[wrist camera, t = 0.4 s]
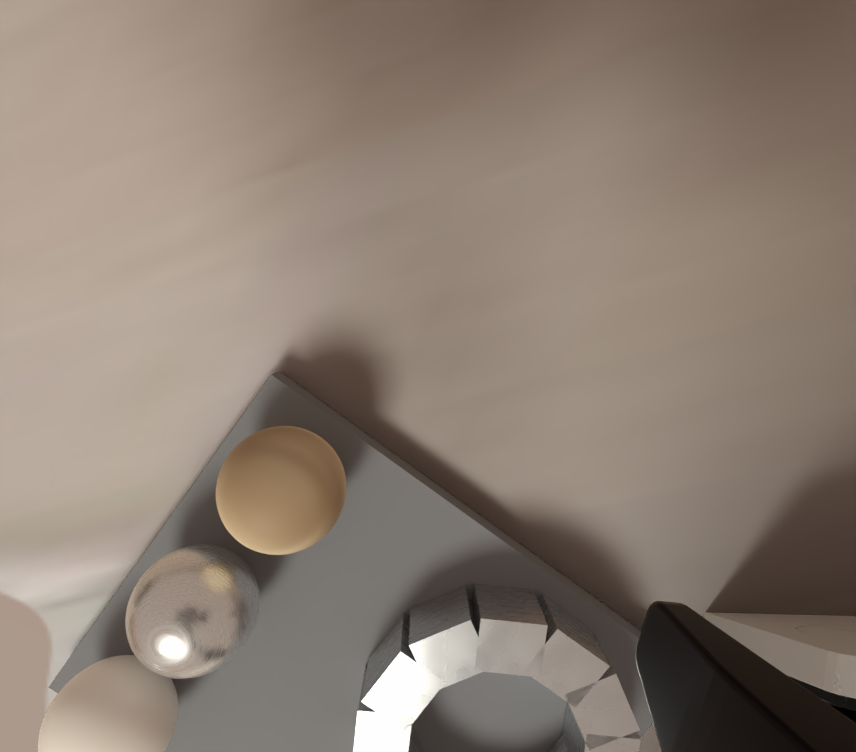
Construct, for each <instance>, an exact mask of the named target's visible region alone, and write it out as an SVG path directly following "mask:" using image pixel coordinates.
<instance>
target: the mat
mask: <svg viewBox="0 0 856 752" xmlns="http://www.w3.org/2000/svg"><path fill="white" fill-rule="evenodd" d="M276 426H293V427H299V428H303V429H306V430H309V431H311V432H313V433H315V434H317V435H318V436H320V437H321V438H323V439H324V440H325V441H326V442H328V444H329V445H330V446H331V447H332V448H333V449H334V450H335V452H336V453H337V455H338V457H339V458H340V460H341V462H342V465H343V468H344V472H345V476H346V485H347V486H346V497H345V502H344V506H343V509H342V512H341V514H340V516H339V518H338V520H337V521H336V523H335V524H334V526H333V527H332V529H331V530H330V531H329V532H328V533H327V534H326V535H325V536H324V537H323V538H322V539H321V540H319V541H318V542H317V543H315V544H314V545H312V546H310V547H308V548H306V549H304V550H301V551H298V552H295V553H291V554H285V555H270V554H264V553H260V552H257V551H254V550H252V549H249V548H247V547H246V546H244V545H242V544H241V543H240V542H238V541H237V540H236V539H235V538H234V537H233V536H232V535H231V534H230V533H229V532H228V530H227V529H226V528H225V526H224V524H223V522H222V520H221V518H220V515H219V512H218V509H217V504H216V485H217V479H218V475H219V472H220V470H221V467H222V465H223V463H224V461H225V460H226V458H227V456H228V455H229V454H230V452H231V451H232V450H233V449H234V448H235V447H236V446H237V445H238V444H239V443H240V442H241V441H242V440H244V439H245V438H247V437H248V436H250V435H252V434H254V433H256V432H258V431H261V430H263V429H266V428H271V427H276ZM199 544H207V545H215V546H220V547H223V548H226V549H228V550H230V551H232V552H234V553H235V554H237V555H238V556H240V557H241V558H242V559H243V560H244V561H245V562H246V563H247V564H248V566H249V567H250V569H251V570H252V572H253V574H254V576H255V579H256V581H257V584H258V588H259V596H260V607H259V613H258V618H257V621H256V625H255V627H254V629H253V631H252V634H251V636H250V637H249V639H248V641H247V642H246V644H245V645H244V647H243V648H242V649H241V650H240V651H239V652H238V654H237V655H236V656H234V657H233V658H232V659H231V660H230V661H229V662H228V663H226V664H225V665H223V666H222V667H220V668H219V669H217V670H215V671H213V672H211V673H208V674H205V675H203V676H200V677H195V678H187V679H174V678H171V679H172V681H173V683H174V686H175V689H176V692H177V697H178V716H177V722H176V726H175V730H174V733H173V736H172V738H171V740H170V742H169V744H168V746H167V748H166V750H165V751H164V752H353V749H354V740H355V731H356V721H357V712H358V706H359V700H360V694H361V688H362V683H363V677H364V671H365V666H367V665H368V659H369V657H370V655H371V654H372V653H373V651H374V650H375V649H376V648H377V646H378V645H379V644H380V642H381V641H382V640H383V639H384V637H385V636H386V635H387V633H388V632H389V631H390V629H391V628H392V627H393V626H394V624H395V623H396V622H397V620H398V619H399V618H400V617H401V615H402V614H403V613H404V614H406V615H407V616H409V617H410V610H411V607H413V606H415V605H418V604H420V603H422V602H425V601H427V600H430V599H432V598H434V597H437V596H439V595H442V594H444V593H446V592H449V591H451V590H454V589H456V588H459V587H461V586H463V585H466V587H467V590H468V592H469V594H470V596H471V599H472V598H473V591H474V583H476V584H485V585H494V586H504V587H513V588H523V589H532V590H534V592H535V595H536V597H537V599H538V597H539V596H540V595H541V594H542V593H543V594H544V595H546V596H547V597H549V598H550V599H551V600H553V601H554V602H556V603H557V604H558V605H560V606H561V607H563V608H564V609H565V610H567V611H568V612H570V613H571V614H572V615H574V616H575V617H577V618H578V619H579V620H581V621H582V622H584V623H585V624H586V625H588V626H589V628H590V630H591V631H592V633H594V634H595V635H596V637H597V639H598V641H599V643H600V645H601V647H602V648H603V650H604V652H605V654H606V656H607V658H608V660H609V661H610V663H611V665H612V667H613V669H614V671H615V673H616V675H617V677H618V679H619V682H620V684H621V686H622V689H623V691H624V693H625V696H626V698H627V701H628V703H629V705H630V708H631V710H632V712H633V715H634V717H635V719H636V722H637V724H638V726H639V729H640V730H639V731H637V732H638V734H639V736H640V738H641V736H642V735H643V734H644V733H645V732H646V731H647V729H648V728H649V727H650V726H651V725H652V723H653V720H652V717H651V713H650V710H649V707H648V703H647V700H646V696H645V693H644V689H643V686H642V682H641V679H640V675H639V672H638V668H637V664H636V647H637V643H638V640H639V637H640V634H641V631H640V630H639V629H637V628H636V627H635V626H633V625H632V624H630V623H629V622H628V621H626V620H625V619H623V618H622V617H621V616H619V615H618V614H616V613H615V612H614V611H612V610H611V609H610V608H608V607H607V606H605V605H604V604H603V603H601V602H600V601H598V600H597V599H596V598H594V597H593V596H591V595H590V594H589V593H587V592H586V591H584V590H583V589H582V588H580V587H579V586H578V585H576V584H575V583H573V582H572V581H571V580H569V579H568V578H566V577H565V576H564V575H562V574H561V573H559V572H558V571H557V570H555V569H554V568H552V567H551V566H550V565H548V564H547V563H546V562H544V561H543V560H541V559H540V558H539V557H537V556H536V555H534V554H533V553H532V552H530V551H529V550H527V549H526V548H525V547H523V546H522V545H520V544H519V543H518V542H516V541H515V540H514V539H512V538H511V537H509V536H508V535H507V534H505V533H504V532H502V531H501V530H500V529H498V528H497V527H495V526H494V525H493V524H491V523H490V522H488V521H487V520H486V519H484V518H483V517H482V516H480V515H479V514H477V513H476V512H475V511H473V510H472V509H470V508H469V507H468V506H466V505H465V504H463V503H462V502H461V501H459V500H458V499H456V498H455V497H454V496H452V495H451V494H450V493H448V492H447V491H445V490H444V489H443V488H441V487H440V486H438V485H437V484H436V483H434V482H433V481H431V480H430V479H429V478H427V477H426V476H424V475H423V474H422V473H420V472H419V471H418V470H416V469H415V468H413V467H412V466H411V465H409V464H408V463H406V462H405V461H404V460H402V459H401V458H399V457H398V456H397V455H395V454H394V453H392V452H391V451H390V450H388V449H387V448H386V447H384V446H383V445H381V444H380V443H379V442H377V441H376V440H374V439H373V438H372V437H370V436H369V435H367V434H366V433H365V432H363V431H362V430H360V429H359V428H358V427H356V426H355V425H354V424H352V423H351V422H349V421H348V420H347V419H345V418H344V417H342V416H341V415H340V414H338V413H337V412H335V411H334V410H333V409H331V408H330V407H328V406H327V405H326V404H324V403H323V402H322V401H320V400H319V399H317V398H316V397H315V396H313V395H312V394H310V393H309V392H308V391H306V390H305V389H303V388H302V387H301V386H299V385H298V384H296V383H295V382H294V381H292V380H291V379H290V378H288V377H287V376H285V375H284V374H283V373H281V372H277V373H275V374H272V375H271V376H270V377H269V379H268V380H267V382H266V383H265V384H264V386H263V387H262V389H261V390H260V391H259V393H258V394H257V396H256V397H255V398H254V400H253V401H252V403H251V404H250V405H249V407H248V408H247V410H246V411H245V412H244V414H243V415H242V417H241V418H240V419H239V421H238V422H237V424H236V425H235V426H234V428H233V429H232V431H231V432H230V433H229V435H228V436H227V438H226V439H225V440H224V442H223V443H222V445H221V446H220V447H219V449H218V450H217V452H216V453H215V454H214V456H213V457H212V459H211V460H210V462H209V463H208V464H207V466H206V467H205V469H204V470H203V471H202V473H201V474H200V476H199V477H198V478H197V480H196V481H195V483H194V484H193V485H192V487H191V488H190V490H189V491H188V492H187V494H186V495H185V497H184V498H183V499H182V501H181V502H180V504H179V505H178V506H177V508H176V509H175V511H174V512H173V513H172V515H171V516H170V518H169V519H168V520H167V522H166V523H165V525H164V526H163V527H162V529H161V530H160V532H159V533H158V534H157V536H156V537H155V539H154V540H153V541H152V543H151V544H150V546H149V547H148V548H147V550H146V551H145V553H144V554H143V555H142V557H141V558H140V560H139V561H138V563H137V564H136V565H135V567H134V568H133V570H132V571H131V572H130V574H129V575H128V577H127V578H126V579H125V581H124V582H123V584H122V585H121V586H120V588H119V589H118V591H117V592H116V593H115V595H114V596H113V598H112V599H111V600H110V602H109V603H108V605H107V606H106V607H105V609H104V610H103V612H102V613H101V614H100V616H99V617H98V619H97V620H96V621H95V623H94V624H93V626H92V627H91V628H90V630H89V631H88V633H87V634H86V635H85V637H84V638H83V640H82V641H81V642H80V644H79V645H78V647H77V648H76V649H75V651H74V652H73V654H72V655H71V657H70V658H69V659H68V661H67V662H66V664H65V665H64V666H63V668H62V669H61V671H60V672H59V673H58V675H57V676H56V678H55V679H54V680H53V682H52V683H51V685H50V686H49V688H51V689H52V690H54V691H55V692H57V693H59V692H60V690H61V689H62V688H63V687H64V686H65V685H66V683H68V682H69V681H70V680H71V679H72V678H73V677H74V676H75V675H77V674H78V673H79V672H81V671H82V670H84V669H85V668H87V667H88V666H90V665H92V664H94V663H96V662H98V661H101V660H103V659H106V658H110V657H114V656H120V655H134V653H133V651H132V650H131V648H130V645H129V643H128V639H127V635H126V629H125V617H126V609H127V605H128V601H129V599H130V596H131V594H132V591H133V589H134V588H135V586H136V584H137V583H138V581H139V579H140V578H141V577H142V575H143V574H144V573H145V572H146V571H147V570H148V569H149V568H150V567H151V566H152V565H153V564H154V563H155V562H156V561H158V560H159V559H161V558H162V557H163V556H165V555H167V554H169V553H171V552H173V551H175V550H177V549H180V548H183V547H187V546H192V545H199ZM565 707H566V701H565V700H564V699H562V698H561V697H559V696H558V695H557V694H555V693H554V692H552V691H551V690H549V689H548V688H547V687H545V686H544V685H542V684H541V683H539V682H538V681H537V680H535V679H534V678H532V677H531V676H521V675H512V674H502V673H492V672H481V673H479V674H476V675H474V676H471V677H469V678H467V679H464V680H462V681H459V682H457V683H454V684H452V685H449V686H447V687H445V688H442V689H440V690H439V691H438V692H437V693H436V695H435V696H434V697H433V698H432V700H431V701H430V702H429V704H428V705H427V706H426V707H425V709H424V710H423V711H422V712H421V714H420V715H419V716H418V717H417V719H416V720H415V721H414V722H413V724H412V725H413V727H414V729H415V731H416V734H417V736H418V738H419V740H420V742H421V744H422V746H423V748H424V750H425V752H546V751H547V749H548V748H549V747H550V746H551V745H552V743H553V742H554V741H555V740H556V739H557V737H558V736H559V735H560V734H561V732H562V726H563V720H564V713H565Z"/></svg>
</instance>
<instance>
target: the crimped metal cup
mask: <svg viewBox="0 0 856 752" xmlns="http://www.w3.org/2000/svg"><path fill="white" fill-rule="evenodd" d="M481 672H492V673H502V674H512V675H521V676H531V677H532V678H534V679H535V680H537V681H538V682H539V683H541V684H542V685H544V686H545V687H547V688H548V689H549V690H551V691H552V692H554V693H555V694H557V695H558V696H559V697H561V698H562V699H564V700H565V701H566V707H565V713H564V720H563V726H562V732H561V734H560V735H559V736H558V737H557V739H556V740H555V741H554V742H553V743H552V745H551V746H550V747H549V748H548V749H547V751H546V752H639V749H640V743H641V738H640V736H639V734H638V732H637V731H639V730H640V729H639V726H638V724H637V722H636V719H635V717H634V715H633V712H632V710H631V708H630V705H629V703H628V701H627V698H626V696H625V693H624V691H623V689H622V686H621V684H620V682H619V679H618V677H617V675H616V673H615V671H614V669H613V667H612V665H611V663H610V661H609V660H608V658H607V656H606V654H605V652H604V650H603V648H602V647H601V645H600V643H599V641H598V639H597V637H596V635H595V634H594V633H592V631H591V630H590V628H589V626H588V625H586V624H585V623H584V622H582V621H581V620H579V619H578V618H577V617H575V616H574V615H572V614H571V613H570V612H568V611H567V610H565V609H564V608H563V607H561V606H560V605H558V604H557V603H556V602H554V601H553V600H551V599H550V598H549V597H547V596H546V595H544V594H543V593H542V594H541V595H540V596H539V597H538V599H537V597H536V595H535V592H534V590H532V589H523V588H513V587H504V586H494V585H485V584H476V583H474V591H473V598H472V599H471V596H470V594H469V592H468V590H467V587H466V585H463V586H461V587H459V588H456V589H454V590H451V591H449V592H446V593H444V594H442V595H439V596H437V597H434V598H432V599H430V600H427V601H425V602H422V603H420V604H418V605H415V606H413V607H411V610H410V617H409V616H407V615H406V614H404V613H403V614H402V615H401V617H400V618H399V619H398V620H397V622H396V623H395V624H394V626H393V627H392V628H391V629H390V631H389V632H388V633H387V635H386V636H385V637H384V639H383V640H382V641H381V642H380V644H379V645H378V646H377V648H376V649H375V650H374V651H373V653H372V654H371V655H370V657H369V659H368V665H367V666H365V671H364V677H363V683H362V688H361V694H360V700H359V706H358V712H357V721H356V731H355V740H354V749H353V752H425V750H424V748H423V746H422V744H421V742H420V740H419V738H418V736H417V734H416V731H415V729H414V727H413V725H412V724H413V722H414V721H415V720H416V719H417V717H418V716H419V715H420V714H421V712H422V711H423V710H424V709H425V707H426V706H427V705H428V704H429V702H430V701H431V700H432V698H433V697H434V696H435V695H436V693H437V692H438V691H439V690H440V689H442V688H445V687H447V686H449V685H452V684H454V683H457V682H459V681H462V680H464V679H467V678H469V677H471V676H474V675H476V674H479V673H481Z"/></svg>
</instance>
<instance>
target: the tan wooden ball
mask: <svg viewBox="0 0 856 752" xmlns="http://www.w3.org/2000/svg"><path fill="white" fill-rule="evenodd" d="M346 486H347V485H346V476H345V472H344V468H343V465H342V462H341V460H340V458H339V457H338V455H337V453H336V452H335V450H334V449H333V448H332V447H331V446H330V445H329V444H328V442H326V441H325V440H324V439H323V438H321V437H320V436H318V435H317V434H315V433H313V432H311V431H309V430H306V429H303V428H299V427H293V426H276V427H271V428H266V429H263V430H261V431H258V432H256V433H254V434H252V435H250V436H248V437H247V438H245V439H244V440H242V441H241V442H240V443H239V444H238V445H237V446H236V447H235V448H234V449H233V450H232V451H231V452H230V454H229V455H228V456H227V458H226V460H225V461H224V463H223V465H222V467H221V470H220V472H219V475H218V479H217V485H216V504H217V509H218V512H219V515H220V518H221V520H222V522H223V524H224V526H225V528H226V529H227V530H228V532H229V533H230V534H231V535H232V536H233V537H234V538H235V539H236V540H237V541H238V542H240V543H241V544H242V545H244V546H246V547H247V548H249V549H252V550H254V551H257V552H260V553H264V554H270V555H285V554H291V553H295V552H298V551H301V550H304V549H306V548H308V547H310V546H312V545H314V544H315V543H317V542H318V541H319V540H321V539H322V538H323V537H324V536H325V535H326V534H327V533H328V532H329V531H330V530H331V529H332V527H333V526H334V524H335V523H336V521H337V520H338V518H339V516H340V514H341V512H342V509H343V506H344V502H345V497H346Z"/></svg>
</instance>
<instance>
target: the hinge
mask: <svg viewBox="0 0 856 752" xmlns="http://www.w3.org/2000/svg"><path fill="white" fill-rule="evenodd" d="M704 618H705V619H706V620H708V621H709V622H711V623H712V624H714V625H715V626H716V627H718V628H719V629H721V630H722V631H724V632H725V633H727V634H728V635H729V636H731V637H732V638H734V639H735V640H737V641H738V642H740V643H741V644H742V645H744V646H745V647H747V648H748V649H750V650H751V651H752V652H754V653H755V654H757V655H758V656H760V657H761V658H763V659H764V660H765V661H767V662H768V663H770V664H771V665H773V666H774V667H776V668H777V669H778V670H780V671H781V672H783V673H784V674H786V675H787V676H789V677H790V678H791V679H793V680H794V681H796V682H797V683H799V684H800V685H801V686H803V687H804V688H806V689H807V690H809V691H810V692H812V693H813V694H814V695H816V696H817V697H819V698H820V699H822V700H823V701H825V702H826V703H827V704H829V705H830V706H832V707H833V708H835V709H836V710H837V711H839V712H840V713H842V714H843V715H845V716H846V717H848V718H849V719H850V720H852V721H853V722H855V723H856V616H830V615H790V614H750V613H710V612H705V615H704Z"/></svg>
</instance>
